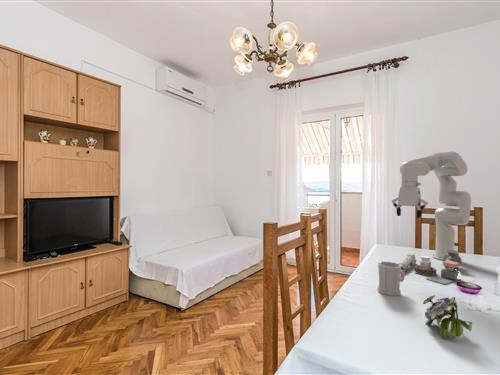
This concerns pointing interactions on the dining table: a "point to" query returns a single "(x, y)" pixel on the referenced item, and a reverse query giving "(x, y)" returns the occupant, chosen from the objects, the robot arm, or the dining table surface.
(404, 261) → the white electric toothbrush
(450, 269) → the orange square block
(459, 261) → the pipe fitting
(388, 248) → the dining table surface
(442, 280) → the mat
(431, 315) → the passion flower
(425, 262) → the pill bottle
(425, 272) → the sleeve
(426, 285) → the dining table surface
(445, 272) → the block
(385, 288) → the cup
